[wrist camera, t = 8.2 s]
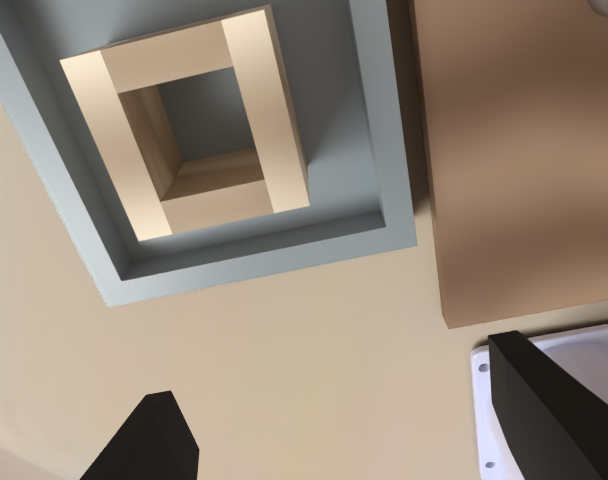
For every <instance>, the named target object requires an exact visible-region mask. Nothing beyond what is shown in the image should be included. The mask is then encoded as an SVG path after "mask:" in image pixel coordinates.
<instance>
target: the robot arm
mask: <svg viewBox="0 0 608 480" xmlns="http://www.w3.org/2000/svg"><path fill="white" fill-rule="evenodd" d="M470 360H471V373H472V385H473V398H474V410H475V422H476V435H477V447H478V460H479V472H480V475H481V478H482V480H608V324H604V325H598V326H592V327H587V328H581V329H576V330H570V331H564V332H559V333H553V334H548V335H542V336H536V337H531V338H526V337H525V336H524V335H523V334H522V333H520V332H519V331H517V330H516V331H510V332H504V333H499V334H493V335H488V345H486V346H480V347H477V348H475V349H474V350H473V351H472V352H471V355H470ZM481 364H485V365H483V366H480V365H481ZM198 460H199V448H198V446H197V443H196V441H195V439H194V437H193V435H192V433H191V431H190V429H189V427H188V425H187V423H186V421H185V419H184V416H183V414H182V412H181V410H180V408H179V406H178V404H177V402H176V400H175V398H174V396H173V394H172V392H171V391H165V392H159V393H154V394H148V395H146V396H145V397H144V398H143V399H142V400H141V402H140V403H139V404H138V405H137V407H136V408H135V409H134V410H133V412H132V413H131V414H130V416H129V417H128V418H127V420H126V421H125V422H124V423H123V425H122V426H121V427H120V429H119V430H118V431H117V433H116V434H115V435H114V436H113V438H112V439H111V440H110V442H109V443H108V444H107V446H106V447H105V448H104V449H103V451H102V452H101V453H100V454H99V456H98V457H97V458H96V459H95V461H94V462H93V463H92V465H91V466H90V467H89V468H88V470H87V471H86V472H85V473H84V475H83V476H82V477H81V478H80V480H197V473H198Z"/></svg>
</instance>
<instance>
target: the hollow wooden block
mask: <svg viewBox="0 0 608 480" xmlns="http://www.w3.org/2000/svg"><path fill="white" fill-rule="evenodd" d="M59 61H60V63H61V65H62V68H63V70H64V72H65V74H66V77H67V79H68V81H69V83H70V86H71V88H72V90H73V93H74V95H75V97H76V99H77V102H78V104H79V106H80V109H81V111H82V113H83V115H84V118H85V120H86V122H87V125H88V127H89V129H90V131H91V134H92V136H93V138H94V140H95V143H96V145H97V147H98V150H99V152H100V154H101V156H102V159H103V161H104V163H105V166H106V168H107V170H108V172H109V175H110V177H111V179H112V182H113V184H114V186H115V188H116V191H117V193H118V195H119V197H120V200H121V202H122V204H123V207H124V209H125V211H126V213H127V216H128V218H129V220H130V223H131V225H132V227H133V229H134V232H135V234H136V236H137V239H138V241H142V240H147V239H152V238H157V237H162V236H166V235H171V234H176V233H181V232H186V231H191V230H195V229H200V228H205V227H210V226H215V225H220V224H224V223H229V222H234V221H239V220H244V219H249V218H253V217H258V216H263V215H268V214H273V213H278V212H282V211H287V210H292V209H297V208H302V207H307V206H310V196H309V179H308V165H307V161H306V156H305V152H304V147H303V143H302V139H301V134H300V130H299V126H298V121H297V117H296V112H295V108H294V104H293V99H292V95H291V90H290V86H289V82H288V77H287V73H286V69H285V64H284V60H283V55H282V51H281V47H280V42H279V38H278V33H277V29H276V25H275V20H274V16H273V11H272V7H271V4H267V5H263V6H259V7H255V8H251V9H247V10H243V11H239V12H235V13H231V14H227V15H223V16H219V17H215V18H211V19H207V20H203V21H199V22H195V23H191V24H187V25H183V26H179V27H175V28H171V29H167V30H162V31H158V32H154V33H150V34H146V35H142V36H138V37H134V38H130V39H126V40H122V41H118V42H114V43H110V44H106V45H103V46H100V47H97V48H94V49H91V50H88V51H85V52H82V53H80V54H77V55H74V56H71V57H68V58H65V59H62V60H59ZM231 66H234V70H235V73H236V77H237V80H238V84H239V88H240V91H241V95H242V98H243V102H244V106H245V109H246V113H247V117H248V120H249V124H250V127H251V131H252V135H253V138H254V142H255V145H256V147H252V148H248V149H243V150H239V151H234V152H230V153H225V154H221V155H216V156H212V157H207V158H203V159H198V160H194V161H189V162H184V160H183V158H182V155H181V152H180V149H179V146H178V143H177V141H176V138H175V135H174V132H173V129H172V127H171V124H170V121H169V118H168V115H167V113H166V110H165V107H164V104H163V101H162V98H161V96H160V93H159V90H158V87H157V84H160V83H164V82H168V81H173V80H177V79H181V78H185V77H189V76H194V75H198V74H202V73H206V72H210V71H215V70H219V69H223V68H227V67H231Z"/></svg>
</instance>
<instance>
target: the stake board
mask: <svg viewBox="0 0 608 480" xmlns="http://www.w3.org/2000/svg"><path fill="white" fill-rule="evenodd" d="M408 7H409V16H410V25H411V35H412V44H413V53H414V62H415V71H416V80H417V89H418V98H419V107H420V116H421V125H422V134H423V143H424V152H425V161H426V170H427V179H428V188H429V198H430V207H431V216H432V225H433V234H434V243H435V252H436V261H437V270H438V279H439V288H440V297H441V306H442V315H443V317H444V320H445V322H446V324H447V326H448V329H453V328H458V327H464V326H469V325H475V324H480V323H486V322H491V321H497V320H502V319H507V318H513V317H518V316H524V315H529V314H535V313H540V312H546V311H551V310H557V309H562V308H568V307H573V306H579V305H584V304H590V303H595V302H601V301H606V300H608V0H408Z"/></svg>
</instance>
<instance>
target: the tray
mask: <svg viewBox="0 0 608 480" xmlns="http://www.w3.org/2000/svg"><path fill="white" fill-rule="evenodd" d="M267 4H271V7H272V11H273V16H274V20H275V25H276V29H277V33H278V38H279V42H280V47H281V51H282V55H283V60H284V64H285V69H286V73H287V77H288V82H289V86H290V90H291V95H292V99H293V104H294V108H295V112H296V117H297V121H298V126H299V130H300V134H301V139H302V143H303V147H304V152H305V156H306V161H307V165H308V179H309V196H310V206H307V207H302V208H297V209H292V210H287V211H282V212H278V213H273V214H268V215H263V216H258V217H253V218H249V219H244V220H239V221H234V222H229V223H224V224H220V225H215V226H210V227H205V228H200V229H195V230H191V231H186V232H181V233H176V234H171V235H166V236H162V237H157V238H152V239H147V240H142V241H138V239H137V236H136V234H135V232H134V229H133V227H132V225H131V223H130V220H129V218H128V216H127V213H126V211H125V209H124V207H123V204H122V202H121V200H120V197H119V195H118V193H117V191H116V188H115V186H114V184H113V182H112V179H111V177H110V175H109V172H108V170H107V168H106V166H105V163H104V161H103V159H102V156H101V154H100V152H99V150H98V147H97V145H96V143H95V140H94V138H93V136H92V134H91V131H90V129H89V127H88V125H87V122H86V120H85V118H84V115H83V113H82V111H81V109H80V106H79V104H78V102H77V99H76V97H75V95H74V93H73V90H72V88H71V86H70V83H69V81H68V79H67V77H66V74H65V72H64V70H63V68H62V65H61V63H60V61H59V60H62V59H65V58H68V57H71V56H74V55H77V54H80V53H82V52H85V51H88V50H91V49H94V48H97V47H100V46H103V45H106V44H110V43H114V42H118V41H122V40H126V39H130V38H134V37H138V36H142V35H146V34H150V33H154V32H158V31H162V30H167V29H171V28H175V27H179V26H183V25H187V24H191V23H195V22H199V21H203V20H207V19H211V18H215V17H219V16H223V15H227V14H231V13H235V12H239V11H243V10H247V9H251V8H255V7H259V6H263V5H267ZM157 87H158V90H159V93H160V96H161V98H162V101H163V104H164V107H165V110H166V113H167V115H168V118H169V121H170V124H171V127H172V129H173V132H174V135H175V138H176V141H177V143H178V146H179V149H180V152H181V155H182V158H183V160H184V162H189V161H194V160H198V159H203V158H207V157H212V156H216V155H221V154H225V153H230V152H234V151H239V150H243V149H248V148H252V147H256V145H255V142H254V138H253V135H252V131H251V127H250V124H249V120H248V117H247V113H246V109H245V106H244V102H243V98H242V95H241V91H240V88H239V84H238V80H237V77H236V73H235V70H234V66H231V67H227V68H223V69H219V70H215V71H210V72H206V73H202V74H198V75H194V76H189V77H185V78H181V79H177V80H173V81H168V82H164V83H160V84H157ZM0 102H1V104H2V106H3V108H4V110H5V112H6V114H7V116H8V118H9V119H10V121H11V123H12V125H13V127H14V129H15V131H16V133H17V135H18V137H19V139H20V141H21V143H22V144H23V146H24V148H25V150H26V152H27V154H28V156H29V158H30V160H31V162H32V164H33V166H34V168H35V169H36V171H37V173H38V175H39V177H40V179H41V181H42V183H43V185H44V187H45V189H46V191H47V193H48V194H49V196H50V198H51V200H52V202H53V204H54V206H55V208H56V210H57V212H58V214H59V216H60V218H61V219H62V221H63V223H64V225H65V227H66V229H67V231H68V233H69V235H70V237H71V239H72V241H73V243H74V244H75V246H76V248H77V250H78V252H79V254H80V256H81V258H82V260H83V262H84V264H85V266H86V268H87V269H88V271H89V273H90V275H91V277H92V279H93V281H94V283H95V285H96V287H97V289H98V291H99V293H100V294H101V296H102V298H103V300H104V302H105V304H106V306H107V308H108V307H113V306H118V305H123V304H128V303H133V302H138V301H143V300H148V299H153V298H158V297H163V296H168V295H173V294H178V293H183V292H188V291H193V290H198V289H203V288H208V287H213V286H218V285H223V284H228V283H233V282H238V281H243V280H248V279H253V278H258V277H263V276H268V275H273V274H278V273H283V272H288V271H293V270H298V269H303V268H308V267H313V266H318V265H323V264H328V263H333V262H338V261H343V260H348V259H353V258H358V257H363V256H368V255H373V254H378V253H383V252H388V251H393V250H398V249H403V248H408V247H413V246H418V245H417V237H416V230H415V222H414V214H413V207H412V199H411V191H410V183H409V176H408V168H407V160H406V153H405V145H404V137H403V130H402V122H401V114H400V107H399V99H398V91H397V83H396V76H395V68H394V60H393V53H392V45H391V37H390V30H389V22H388V14H387V7H386V0H0Z"/></svg>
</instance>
